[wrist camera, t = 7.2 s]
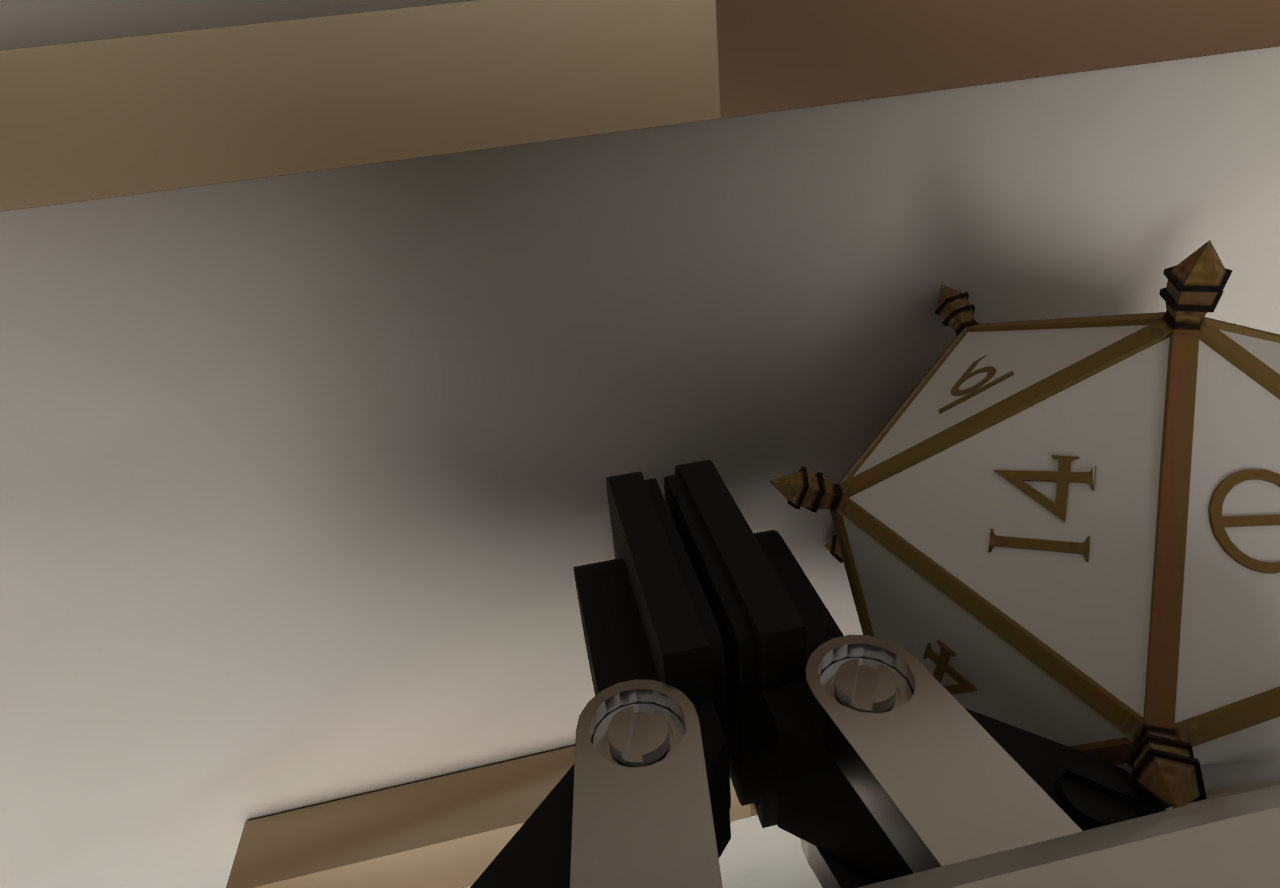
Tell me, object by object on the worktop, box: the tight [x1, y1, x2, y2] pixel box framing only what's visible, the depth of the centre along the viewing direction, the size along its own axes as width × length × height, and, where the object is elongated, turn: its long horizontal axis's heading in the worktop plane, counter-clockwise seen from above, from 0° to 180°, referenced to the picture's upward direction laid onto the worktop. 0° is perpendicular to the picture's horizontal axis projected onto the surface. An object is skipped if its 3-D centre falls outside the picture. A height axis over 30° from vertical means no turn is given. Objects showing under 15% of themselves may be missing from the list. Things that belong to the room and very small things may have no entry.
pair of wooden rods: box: [0, 0, 1280, 888], centre depth 13 cm, size 15×30×2 cm, turn 96°
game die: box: [770, 241, 1280, 809], centre depth 11 cm, size 9×8×10 cm
